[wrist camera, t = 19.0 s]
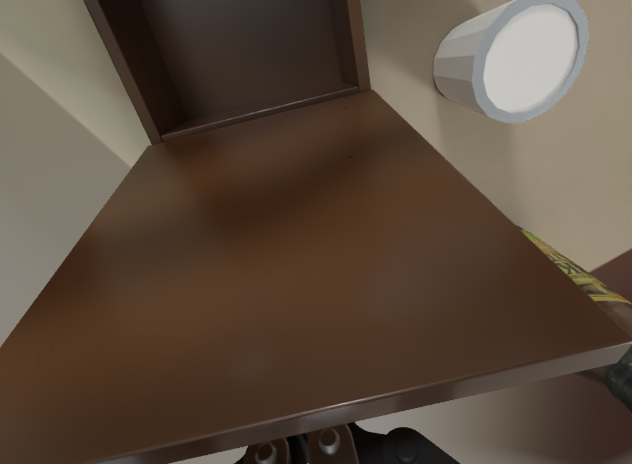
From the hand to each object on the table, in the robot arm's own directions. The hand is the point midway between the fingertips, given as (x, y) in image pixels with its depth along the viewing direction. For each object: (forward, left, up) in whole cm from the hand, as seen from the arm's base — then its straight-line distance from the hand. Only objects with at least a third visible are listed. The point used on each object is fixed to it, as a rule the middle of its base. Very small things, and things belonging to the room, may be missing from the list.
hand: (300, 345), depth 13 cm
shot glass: (-7, +16, -18) cm, 25 cm away
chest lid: (-6, 0, -2) cm, 6 cm away
